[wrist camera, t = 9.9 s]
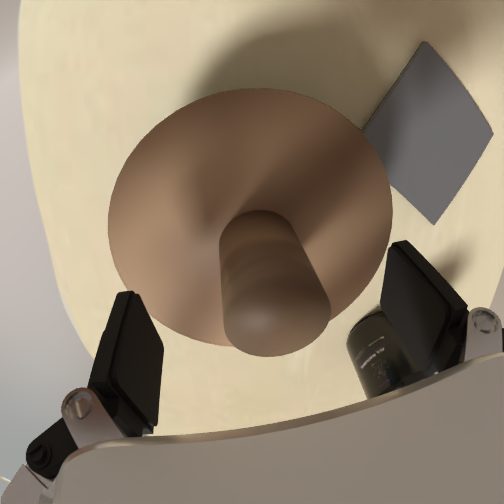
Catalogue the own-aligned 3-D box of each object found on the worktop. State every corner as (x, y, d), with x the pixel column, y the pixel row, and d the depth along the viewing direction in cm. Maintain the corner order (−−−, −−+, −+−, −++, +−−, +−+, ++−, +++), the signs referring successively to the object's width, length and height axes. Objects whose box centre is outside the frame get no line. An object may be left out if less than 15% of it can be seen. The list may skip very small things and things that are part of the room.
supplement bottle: (350, 314, 27) (401, 419, 17) (407, 303, 28) (465, 392, 18) (339, 358, 31) (374, 451, 21) (390, 346, 32) (433, 428, 21)
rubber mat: (489, 132, 19) (493, 133, 18) (430, 222, 23) (434, 225, 22) (422, 41, 15) (426, 41, 14) (348, 149, 19) (351, 151, 18)
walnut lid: (424, 194, 15) (496, 248, 9) (285, 356, 20) (304, 431, 15) (202, 31, 9) (192, -14, 4) (84, 281, 15) (47, 363, 10)
